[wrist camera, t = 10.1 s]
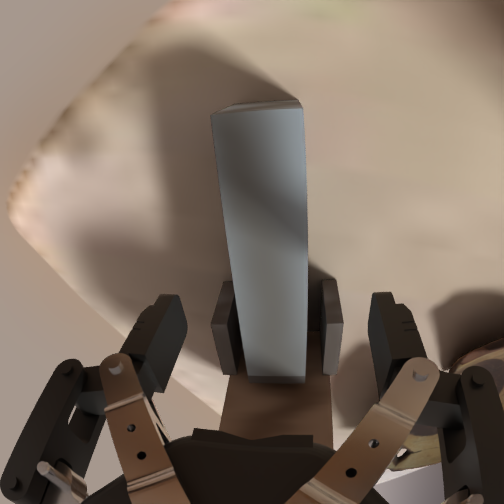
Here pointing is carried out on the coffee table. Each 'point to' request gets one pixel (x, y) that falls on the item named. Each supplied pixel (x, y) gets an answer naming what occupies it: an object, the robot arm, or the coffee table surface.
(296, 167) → the gray rectangular block
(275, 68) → the coffee table surface
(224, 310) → the dark u-channel
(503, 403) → the cracked wood slice
